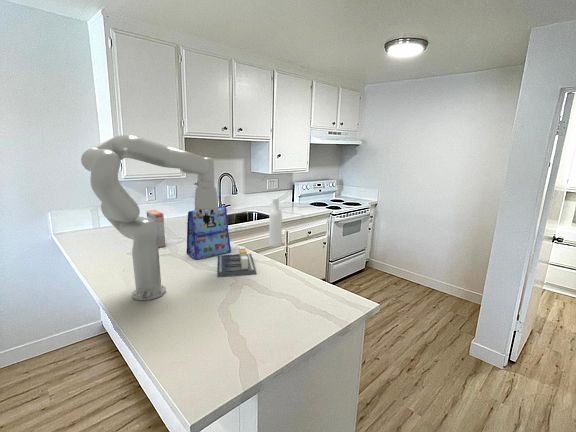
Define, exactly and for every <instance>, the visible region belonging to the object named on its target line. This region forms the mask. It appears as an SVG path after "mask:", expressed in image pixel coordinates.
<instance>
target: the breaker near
mask: <svg viewBox="0 0 576 432" xmlns="http://www.w3.org/2000/svg"><path fill="white" fill-rule="evenodd" d="M241 267H242V269H248V257H247V256H241Z"/></svg>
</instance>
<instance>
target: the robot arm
mask: <svg viewBox="0 0 576 432" xmlns="http://www.w3.org/2000/svg"><path fill="white" fill-rule="evenodd" d="M80 158H81V159H80V162H81V165H82V167H83V168H84V169H85V170H87V171H88V172H90V186H91V187H90V188H91V189H92V191H93V193H94V194H95V196H96V197H97V199H98V200H100V202H101V203H100V210H101V213H102V215H103V216H104V217H105V219H107V221H109V223H110V224H111V225H112V226H113V227H114V228H115V229H116V230H117V231H118V232H119V233H120V234H121V235H122V236H124V237H125V238H128V239H130V240H131V241H133V244H132V250H131V252H132V253H131V255H132V263H133V264H132V265H133V273H134V274H133V275H134V284H135V289H134V290H133V291H132V292H131V293H132V294H131V297H132V299H133V300H137V301H152V300H155V299H157V298H160V297H161V296H163V295H164V294H165V293H166V292H167V291H166V290H167V289H166V286H164V285H162V276H161V265H160V253H159V248H158V240H159V227H158V225H157V224H156V223H155V222H154V221H153V220H151V219H148V218H147V217H144V216H141V215H140V213H141V211H140V207H139V205H138V203H137V202H136V201H135V200H134V199H133V197H131V195H130V194H129V193H128V192H127V190H126V189H125V188H124V187H123V185H121V182H120V180H119V173H120V167H121V161H122V160H124V159H133V160H136V161H140V162H143V163H147V164H150V165H154V166H157V167H161V168H168V169H179V170H180V171H181V172H183V173H185V174H191V175H197V176H196V177H197V181H194V182H193V185H194V186H197V187H195V192H194V210H195V211H197V212H200V213H201V214H202V215H203V222H205V224H206V223H207V224H208V222H210V215H211V214H212V213H213V212H216V211H218V207H219V206H218V191H217V188H216V186H215V160H214V158H212V157H207V156H205V157H204V156H202V155H199V154H195V153H193V152H189V151H186V150H182V149H178V148H175V147H172V146H168V145H165V144H161V143H158V142H155V141H153V140H149V139H147V138H144V137H140V136H138V135H135V134H122V135H121V134H120V135H118V136H114V137H112V138H110V139H107V140H106V141H103V142H101V143H99V144H97V145H94V146H92V147H90V148H88V149H86V150H85V151H83V152H82V154H81V157H80ZM205 209H208V213H207V215H206V213H205ZM211 209H212V210H211Z"/></svg>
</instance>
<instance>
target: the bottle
mask: <svg viewBox="0 0 576 432" xmlns="http://www.w3.org/2000/svg"><path fill="white" fill-rule="evenodd" d="M279 203H280V197H276V196H275V197H272V208H271V210H270V211H269V214H268V215H269V218H268V219H269V221H268V222H269V224H268V225H269V227H268V229H269V231H268V232H269V242H268V244H269V247H271V248H280V247H281V246H283V245H282V243H283V239H282V237H283V235H282V234H283V216H282V215H283V214H282V211H281V210H280V209H279V207H280V204H279Z"/></svg>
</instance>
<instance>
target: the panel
mask: <svg viewBox="0 0 576 432" xmlns="http://www.w3.org/2000/svg"><path fill="white" fill-rule="evenodd" d="M247 257H248V269H242V267H241V261H240V255H239V253H237V254H236V253H235V254H220V255H217V265H216V266H217V267H216V268H217V270H216V272H217V273H216V277H217V278H219V277H221V278H222V277H232V276H233V277H234V276H248V275H256V274H257V268H256V266H255V262H254V258H253V255H252V253H247Z"/></svg>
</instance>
